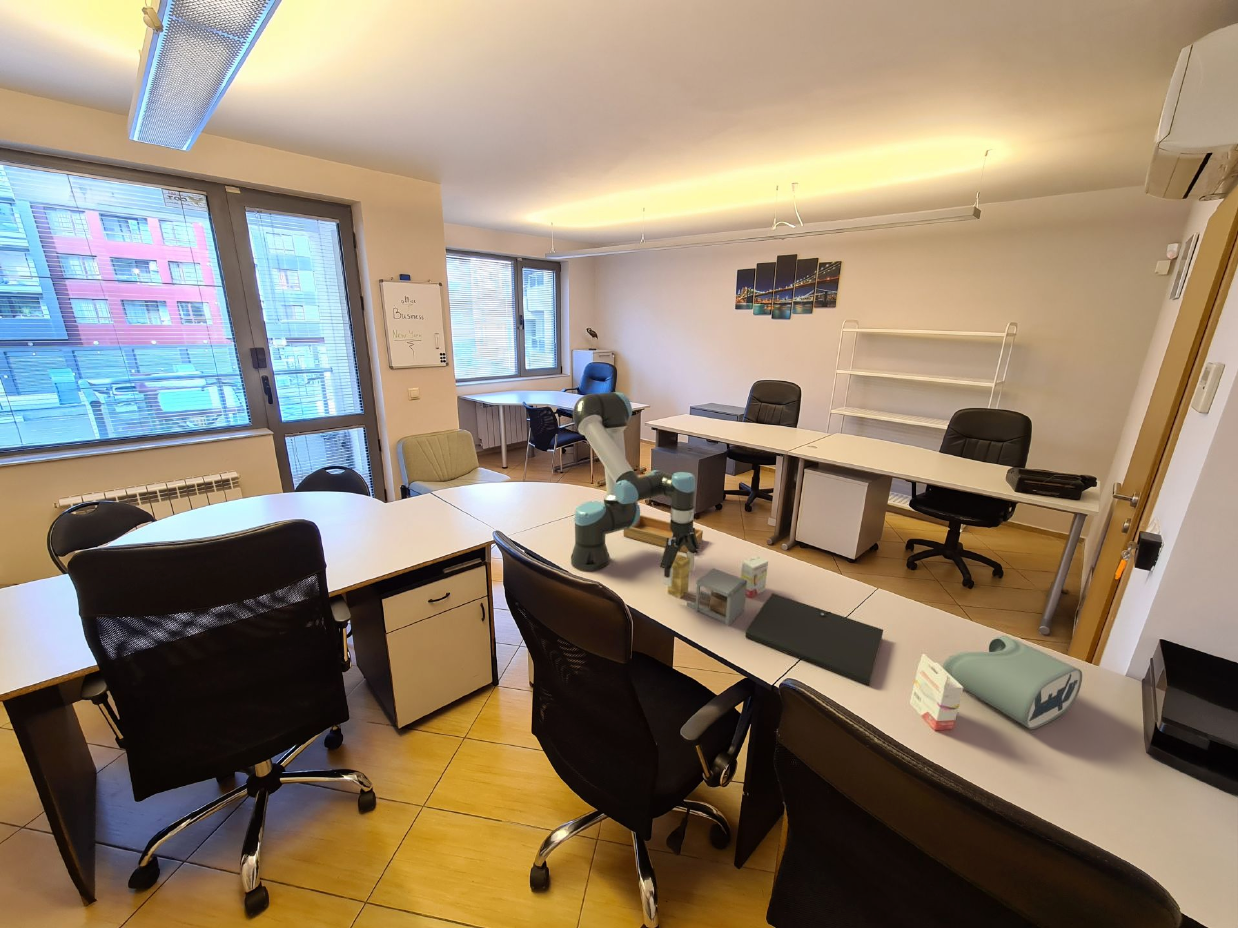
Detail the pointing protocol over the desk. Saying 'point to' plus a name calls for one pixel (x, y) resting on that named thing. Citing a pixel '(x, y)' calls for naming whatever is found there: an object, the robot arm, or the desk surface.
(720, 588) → the box
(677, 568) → the block
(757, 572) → the ink box
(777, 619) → the file folder
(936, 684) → the ink cartridge box
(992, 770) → the desk surface
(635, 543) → the desk surface
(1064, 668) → the green hollow piece
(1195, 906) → the desk surface
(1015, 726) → the desk surface
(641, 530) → the tray
